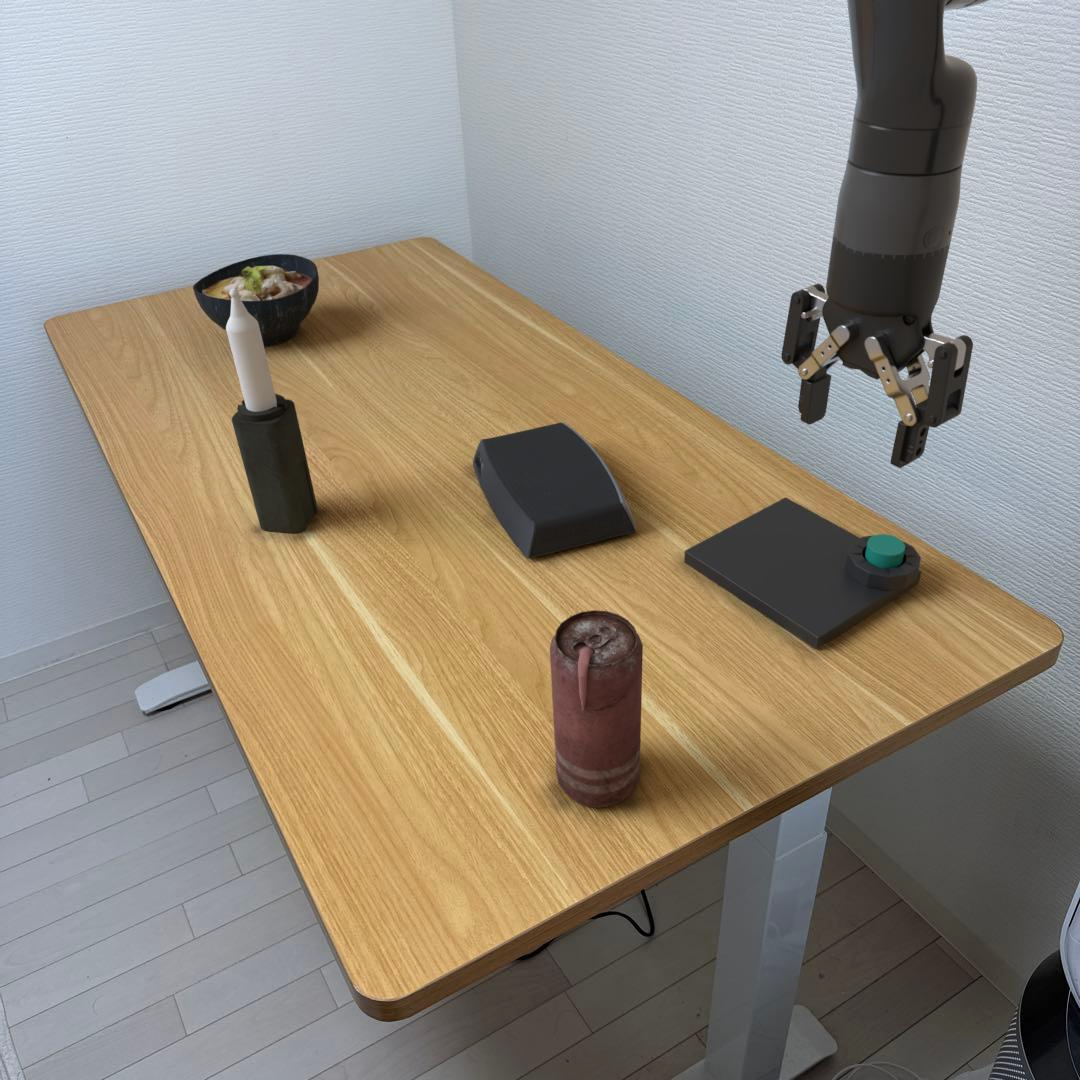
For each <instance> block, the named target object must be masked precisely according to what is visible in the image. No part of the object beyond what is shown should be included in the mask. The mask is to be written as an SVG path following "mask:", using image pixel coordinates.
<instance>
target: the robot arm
mask: <svg viewBox="0 0 1080 1080" xmlns="http://www.w3.org/2000/svg"><path fill="white" fill-rule="evenodd" d="M988 1H990V0H846V3H847V13H848V21H849V22H848V23H849V31H850V41H851V52H852V53H851V55H852V59H853V60H852V62H853V69H854V76H855V83H856V99H855V106H854V111H853V112H854V113H853V119H852V126H851V133H850V140H849V148H848V155H847V161H846V164H845V165H846V166H845V170H844V174H843V178H842V181H841V185H840V189H839V192H838V198H837V203H836V204H837V205H836V212H835V219H834V225H833V226H834V227H833V233H832V241H831V248H830V255H829V261H828V262H829V263H828V270H827V278H826V284H825V287H824V286H823V285H822V284H821V283H815V284H813V285H809V286H806V287H803V288H801V289H799V290H797V291H794V292H792V294H791V296H790V301H789V308H788V311H787V312H788V314H787V320H786V324H785V325H786V326H785V329H784V330H785V331H784V337H783V343H782V348H781V353H780V354H781V355H780V356H781V357H780V358H781V360H782V362H783V363H784V364H786V365H787V366H789V365H793V367H795V368H796V369H797V373H798V376H799V377H800V378H801V382H800V390H799V397H798V404H797V407H798V413H799V414H800V421H801V422H802V423H804V424H807V425H809V426H810V425H813V424H815V423H817V422H819V421H821V420H822V419H823V418H824V417H825V416H826V414H827V407H828V402H829V395H830V387H831V381H832V375H831V374H829V373H828V371H829V370H831V369H832V368H833V367H834V366H835V365H836V364H837V363H838V362H840V361H841V362H842V366H843V367H845V368H848V369H851V370H859V371H861V372H862V373H863V374H865V375H866V376H867V377H869V378H872V379H874V380H880V382H881V384H882V388H883V389H884V392H885V394H886V396H887V397H889V398H891V399H892V400H893V401H894V403H895V407H896V408H897V411H898V414H899V416H900V419H901V420H900V421H898V422H897V427H896V433H895V437H894V442H893V448H892V452H891V457H890V464H891V465H892V466H894V467H897V468H899V469H902V468H903V467H905V466H907V465H910V464H911V463H912V462H914V461H916V460H918V459H920V458H921V457H922V455H923V454H924V453H925V448H926V444H927V440H928V435H929V431H930V428H934V429H935V428H938V427H940V426H941V425H943V424H945V423H947V422H949V421H951V420H953V419H955V418H957V417H958V416H960V414H961V413H962V409H963V405H964V399H965V392H966V387H967V381H968V376H969V372H970V371H969V370H970V366H971V361H972V360H971V359H972V354H973V348H974V342H973V340H972V338H971V337H970V336H969V335H967V334H962V335H960V336H957V337H955V338H951V337H948V336H945V335H940V334H937V333H935V332H934V328H933V323H932V322H933V321H932V316H933V312H934V311H935V308H936V305H937V303H938V301H939V298H940V294H941V290H942V284H943V280H944V274H945V271H946V266H947V260H948V257H949V252H950V247H951V243H952V237H953V233H954V229H955V228H954V227H955V223H956V218H957V213H958V209H959V203H960V196H961V185H962V184H961V182H962V181H961V180H962V173H963V172H962V171H963V166H964V165H963V163H964V160H965V156H966V150H967V146H968V141H969V136H970V133H971V127H972V121H973V117H974V111H975V107H976V106H975V105H976V100H977V92H978V75H977V73H976V71H975V68H974V67H973V66H972V65H971V64H969V62H967V61H966V60H965V59H961V58H959V57H956V56H953V55H949V54H948V55H947V54H946V51H945V39H944V38H945V37H944V15H945V12H947V11H952V10H959V9H966V8H971V7H975V6H979V5H982V4H984V3H986V2H988ZM821 318H822V319H823V321H824V324H825V326H826V329H827V332H828V334H829V335H828V336H827V338H826V339H824V340H823V341H822V342H821V343H820V344H819V345H818V346H817V347H816V343H817V338H818V333H819V327H820V322H821ZM924 352H926V354H927V356H928V362H927V364H926V361H925V358H924V356H923V353H924ZM905 368H906V369H907V373H908V374H907V377H906V378H905V379H902V377H901V376H900V372H901V371H903V370H904V369H905ZM929 369H931V374H930V371H929Z"/></svg>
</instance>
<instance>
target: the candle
mask: <svg viewBox="0 0 1080 1080" xmlns="http://www.w3.org/2000/svg"><path fill="white" fill-rule="evenodd" d="M229 294H230V296H231V297H232V299H231V314H230V318H229V320H228V322H227V325H226V330H225V331H226V334H227V335H226V336H227V338H228V342H229V346H230V350H231V354H232V357H233V361H234V365H235V370H236V373H237V377H238V381H239V385H240V389H241V393H242V396H243V400H242V401H241V404H238V405H237V408H236V412H235V413H234V414H233V416H232V417H231V423H232V427H233V430H234V434H235V438H236V442H237V446H238V449H239V453H240V456H241V461H242V464H243V468H244V471H245V475H246V479H247V483H248V486H249V490H250V494H251V497H252V502H253V504H254V509H255V513H256V516H257V521H258V523H259V527H260V529H261V530H262V531H264V532H272V533H273V532H274V533H286V534H298V533H301V532H303V531H305V530H306V529H307V528H308V524H309V522H310V521H311V520H312V518H313V517H314V515H315V514H317V513H318V512H319V508H318V504H317V499H316V494H315V490H314V486H313V482H312V477H311V473H310V468H309V464H308V459H307V453H306V450H305V446H304V440H303V435H302V432H301V428H300V427H301V426H300V423H299V419H298V413H297V409H296V405H295V402H294V401H293V400H291V399H288V398H285V397H284V396H283V395H281V394H278V393H276V391H275V388H274V383H273V380H272V375H271V371H270V366H269V362H268V358H267V354H266V350H265V347H264V345H263V340H262V336H261V332H260V328H259V324H258V322H257V320H256V319H255V318H254V317H253V316H252V315H251V314H249V313H248V311H247V310H246V308H245V306H244V304H243V303H242V301H241V299H240V298H239V291H238V290H236V289H231V290H230V292H229Z"/></svg>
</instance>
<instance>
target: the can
mask: <svg viewBox="0 0 1080 1080" xmlns="http://www.w3.org/2000/svg"><path fill="white" fill-rule="evenodd" d="M643 649H644V645H643V642H642V639H641V637H640V634H639V633H638V632H637V630H636V628H635V626H634V625H633V624H632V622H630V621H629V619H627V618H626V617H624V616H622V615H620V614H619V613H614V612H612V611H608V610H597V609H592V610H586V611H580V612H578V613H575V614H573V615H570V616H569V617H567V618H566V619H565V620H563V621H562V622H560V624H559V625H558V626H557V628H556V630H555V634H554V635H553V636H552V638H551V641H550V646H549V662H550V679H551V681H550V682H551V697H552V699H551V700H552V716H553V717H552V718H553V734H554V735H553V736H554V755H555V757H554V758H555V774H556V778H557V783H558V785H559V787H560V789H561V790H562V791H563V793H564V794H565V795H566V796H567V797H569V798H571V799H572V800H573V801H575V802H576V803H578V804H580V805H583V806H585V807H587V808H588V807H589V808H596V809H597V808H599V809H603V808H606V807H612V806H615V805H617V804H620V803H622V802H623V801H625V800H626V799H627V798H628V797H629V796H630V795H631V794H632V793H634V792H635V790H636V788H637V786H638V784H639V783H640V776H641V775H640V773H641V743H642V741H641V739H642V738H641V737H642V694H643V656H644V655H643V653H644V652H643V651H644V650H643Z"/></svg>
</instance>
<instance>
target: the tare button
mask: <svg viewBox="0 0 1080 1080" xmlns="http://www.w3.org/2000/svg"><path fill="white" fill-rule="evenodd" d="M871 536H872V537H871V538H869V540H868V542H867V548H866V553H865V558H866V560H867V561H868V562H869V563H871V564H873V565H874V566H877V567H882V568H887V569H888V568H896V567H898V566H900V565H901V564H902V561H903V556H904V552H905V544H904V543H903V542H904V540H902V539H900V537H897V536H894V535H892V534H886V533H885V534H884V533H881V534H880V533H879V534H874V536H873V535H871ZM901 540H902V541H901Z"/></svg>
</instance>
